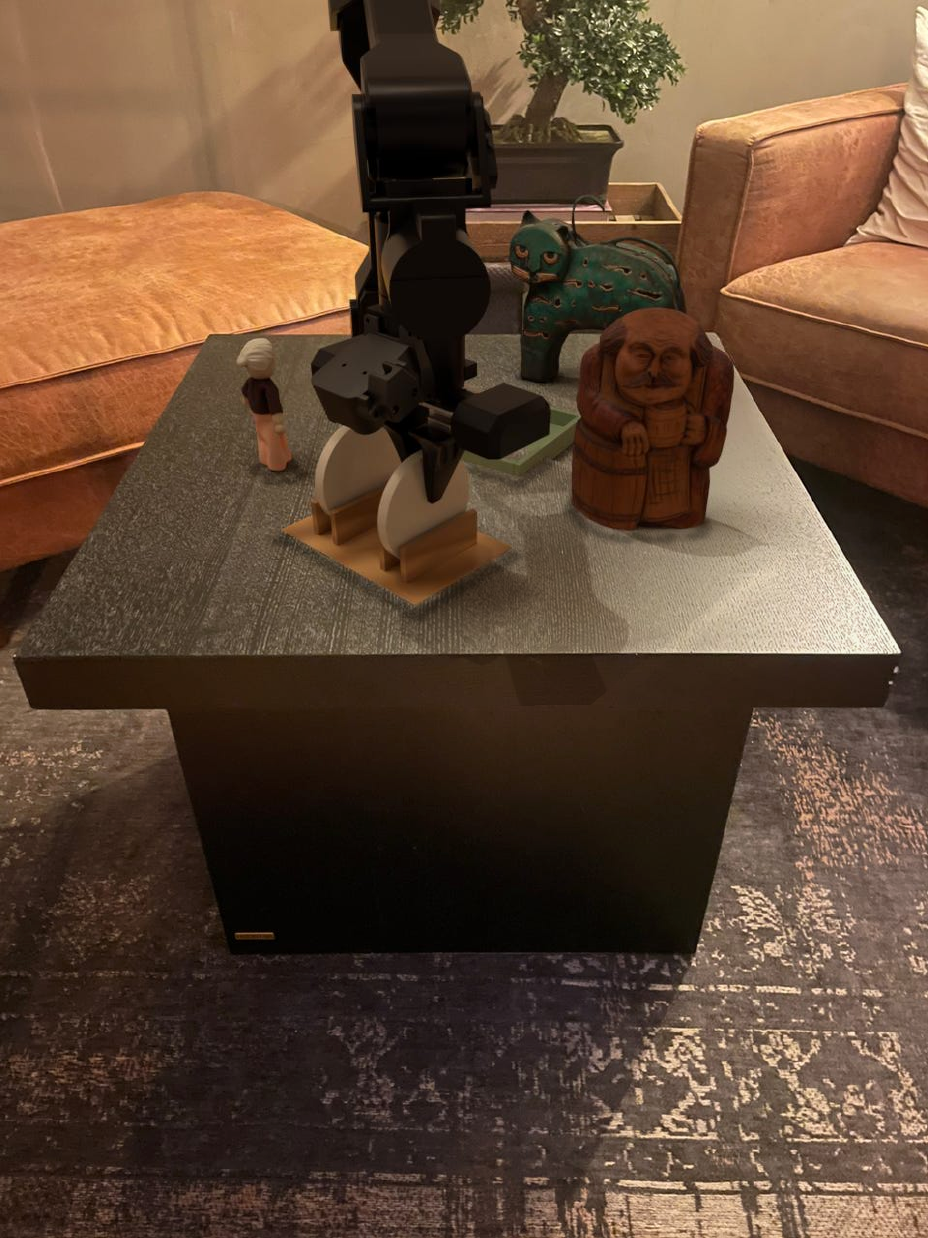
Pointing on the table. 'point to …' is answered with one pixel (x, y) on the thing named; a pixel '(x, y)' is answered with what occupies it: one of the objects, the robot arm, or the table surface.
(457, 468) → the plate
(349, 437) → the plate
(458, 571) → the plate rack
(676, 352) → the wooden figurine
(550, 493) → the table surface
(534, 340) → the ceramic cat
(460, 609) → the table surface
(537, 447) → the tray
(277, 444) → the grandmother figurine
